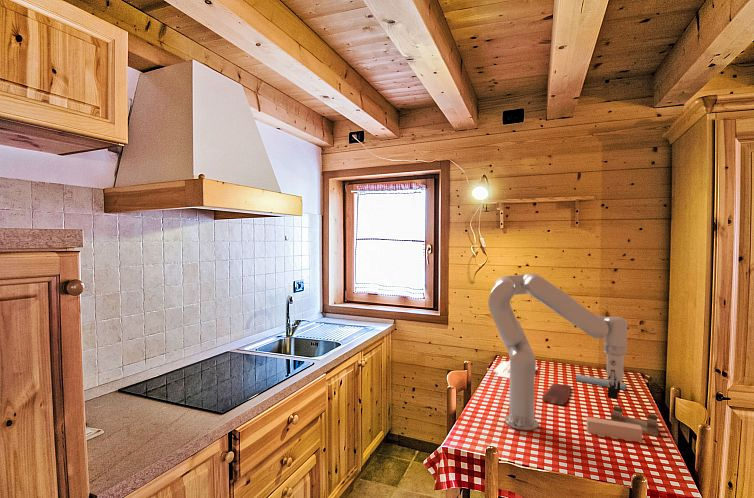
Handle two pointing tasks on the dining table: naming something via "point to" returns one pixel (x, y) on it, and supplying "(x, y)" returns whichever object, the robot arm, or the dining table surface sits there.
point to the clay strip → (614, 429)
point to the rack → (637, 421)
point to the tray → (504, 369)
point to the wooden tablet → (557, 394)
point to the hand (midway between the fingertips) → (613, 394)
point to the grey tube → (597, 381)
